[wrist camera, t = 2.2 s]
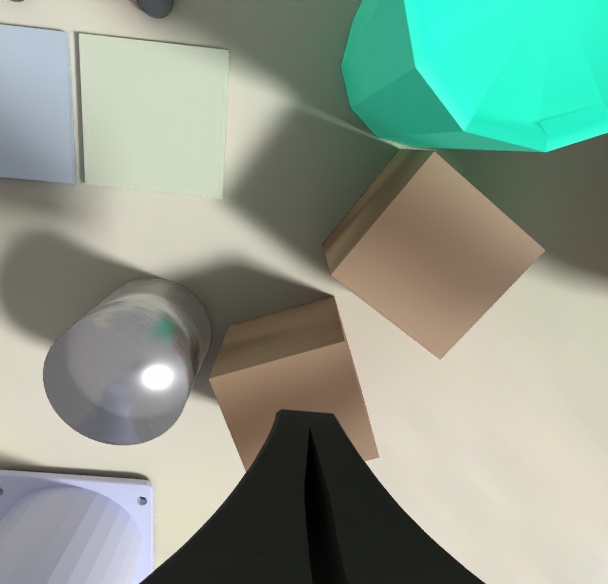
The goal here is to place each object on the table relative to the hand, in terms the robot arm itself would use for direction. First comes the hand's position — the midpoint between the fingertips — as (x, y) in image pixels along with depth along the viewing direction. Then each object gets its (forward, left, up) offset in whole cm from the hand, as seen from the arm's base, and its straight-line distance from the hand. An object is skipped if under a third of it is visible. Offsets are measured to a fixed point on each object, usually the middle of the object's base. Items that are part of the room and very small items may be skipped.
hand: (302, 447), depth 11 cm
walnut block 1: (-3, 0, -10) cm, 11 cm away
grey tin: (-2, +6, -10) cm, 12 cm away
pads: (+8, +12, -10) cm, 18 cm away
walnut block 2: (+4, -4, -10) cm, 12 cm away
